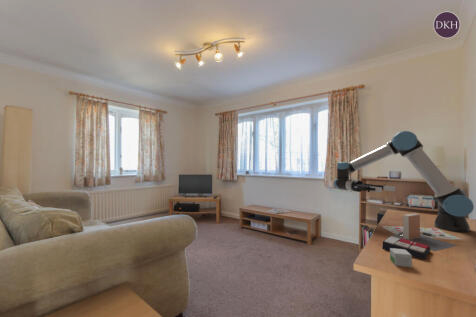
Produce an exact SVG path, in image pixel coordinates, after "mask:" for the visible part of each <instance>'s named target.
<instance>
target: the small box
mask: <svg viewBox="0 0 476 317" xmlns="http://www.w3.org/2000/svg"><path fill="white" fill-rule="evenodd" d="M389 260H390V261H391V262H392V263H393V265H394V266H396V267H403V268H404V267H405V268H413V257H412V255H411V254H410V253H409V252H407V251H406V250H405V249H395V248H390V251H389Z"/></svg>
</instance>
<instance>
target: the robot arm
mask: <svg viewBox="0 0 476 317" xmlns="http://www.w3.org/2000/svg"><path fill="white" fill-rule="evenodd" d="M423 149H424V145H423V144H422V142H420V140H419V139H418V137H417V135H416V133H414V132H412V131H409V130H403V131H399V132H397V133H395V134H394V136H393V137H392V139H390V140H388V141H387V142H386V143H385V144H384V145H382V146H381V147H378V148H376V149H374V150H372V151H370V152H368V153H366V154H363V155H362V156H360V157H358V158H356V159H354V160H352V161H349V162H348V161H340V162H339V161H338V162H337V163H336V172H337V173H336V174H337V175H336V176H337V177H336V178H335V179H334V180H333V186H334V188H335V189H338V190H343V191H349V192H356V193H361V192H362V191H365V192H367V193H371V192H374V193H383V191H386V192H388V191H389V192H396V186H392V185H386V184H371V183H364V182H363V181H362V180H358V179H350V175H351V174H352V173H354V172H356V171H359V170H361V169H363V168H366V167H367V166H369V165H372V164H374V163H376V162H378V161H381V160H383V159H385V158H387V157H389V156H392V155H395V156H396V155H397V154H400V155H401V157H402V158H407V160H408V161H409V162H410V163H411V164H412V166H413V167H414V169H415V170H416V171H417V172H418V173H419V175H420V176H421V177H422V178H423V180H424V181H425V182H426V184H427V185H428V186H429V187H430V189H431V190H432V191H433V192H434V198H435V199H436V201H437V208H438V209H437V215H436V218H435V220H434V227H436V228H438V229H441V230H445V231H451V232H459V233H460V232H462V233H468V232H471V227H470V225H469V222H468V220H467V216H468V215H470V214H472V213H473V211H474V202H473V201H472V199H471V198H469V197H468V196H466V192H465V190H461V189H460V187H458V186H455V185H453V184H452V183H451V182H450V180H448V178H447V177H446V176H445V175H444V174H443V172H442V171H441V170H440V169H439V167H437V165H436V164H435V163H434V162H433V160H432V159H431V158H430V157H429V156H428V155H427V153H426V152H425V151H424V150H423Z"/></svg>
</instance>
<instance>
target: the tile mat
mask: <svg viewBox="0 0 476 317" xmlns="http://www.w3.org/2000/svg"><path fill="white" fill-rule="evenodd" d="M402 234H403V233H399V234H395V235H394V234H393V235H388V237H387V238H389V237H391V236H392V237H396V238H400V239H404V238H403V236H400V235H402ZM405 240H408V239H405ZM409 241H413V242H416V243H420V244H424V245H427V246H428V247H430V251H433V252H437V251H442V250H445V249H449V248H453V247H458V246H459V245H457V244H455V243H451V242H447V241H443V240H440V239H437V238H433V237H429V236H425V235H421V234H420V238H415V239H410V240H409Z"/></svg>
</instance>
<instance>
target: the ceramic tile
mask: <svg viewBox="0 0 476 317" xmlns="http://www.w3.org/2000/svg"><path fill="white" fill-rule="evenodd" d="M420 217H421V215H420V213H416V212H415V213H414V212H413V213H407V214H402V229H403V230H402V232H403V233H402V234H403V238H404V239H408V240H410V239H415V238H420V235H421V218H420Z"/></svg>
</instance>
